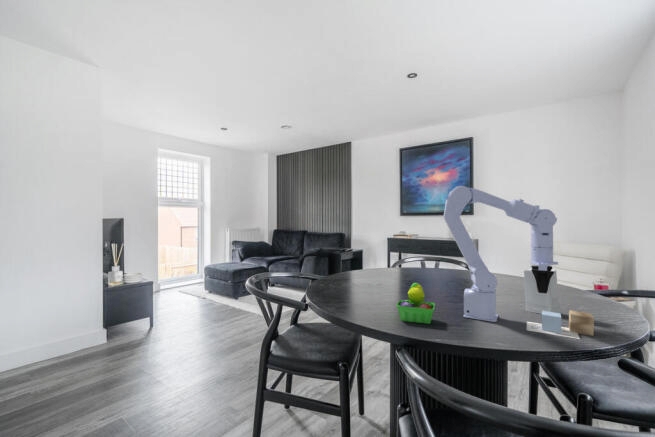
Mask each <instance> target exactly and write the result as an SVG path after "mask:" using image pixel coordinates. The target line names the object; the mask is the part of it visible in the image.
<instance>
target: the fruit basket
mask: <svg viewBox="0 0 655 437" xmlns="http://www.w3.org/2000/svg"><path fill="white" fill-rule="evenodd" d="M407 296H408V299H401V300H399V301H398V302H397V304H396V308H397V310H398V313H399V317H400V319H399V320H400V321H401V322H403V321H404V322H410V323H420V324H427V325H428V324H429V325H430V324H431V322H432V318H433V313H434V311H435V306H436V305H435V304H436V302H435V303H434V302H431V301H430V302H429V301H425V300H424V299H425V292H424V289H423V287H422V285H420V283H418V282H413V283H412V284H411V286H410V287H409V290H408V292H407Z"/></svg>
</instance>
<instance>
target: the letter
mask: <svg viewBox="0 0 655 437" xmlns="http://www.w3.org/2000/svg"><path fill="white" fill-rule="evenodd" d="M526 331H529V332H530V331H531V332H536V333H541V334H542V333H543V334H547V335H553V336H557V337H558V336H559V337H566V338H571V339H578V340H580V339H581V338H580V336H579V333H574V332H570V329H569V327H566V326H561V333H556V332H550V331H544V330H542V323H538V322H533V321H526Z"/></svg>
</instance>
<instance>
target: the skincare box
mask: <svg viewBox="0 0 655 437" xmlns="http://www.w3.org/2000/svg"><path fill="white" fill-rule="evenodd" d="M531 269H532V267H530V268H527V269H524V270H523V278H524V279H523V280H524V297H525V299H524V300H525V311H526V312H528V313H529V312H531V313H534V314H540V315H542V311H547V312H554V313H560V312H559V311H560V310H559V296H558V295H559V294H558V278H557V270H555V269H552V270H551V271H554V274H553V275H552V277H551V279H550V282H549V287H548V291H547V293H539V292H538V289H537V284H536V280H535V277H534V274H533V273H532V271H531Z"/></svg>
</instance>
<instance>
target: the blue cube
mask: <svg viewBox="0 0 655 437" xmlns="http://www.w3.org/2000/svg"><path fill="white" fill-rule="evenodd" d="M541 324H542V330H544V331H550V332H556V333H561V327H562V315H561V312H559V313H554V312H547V311H542V314H541Z"/></svg>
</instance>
